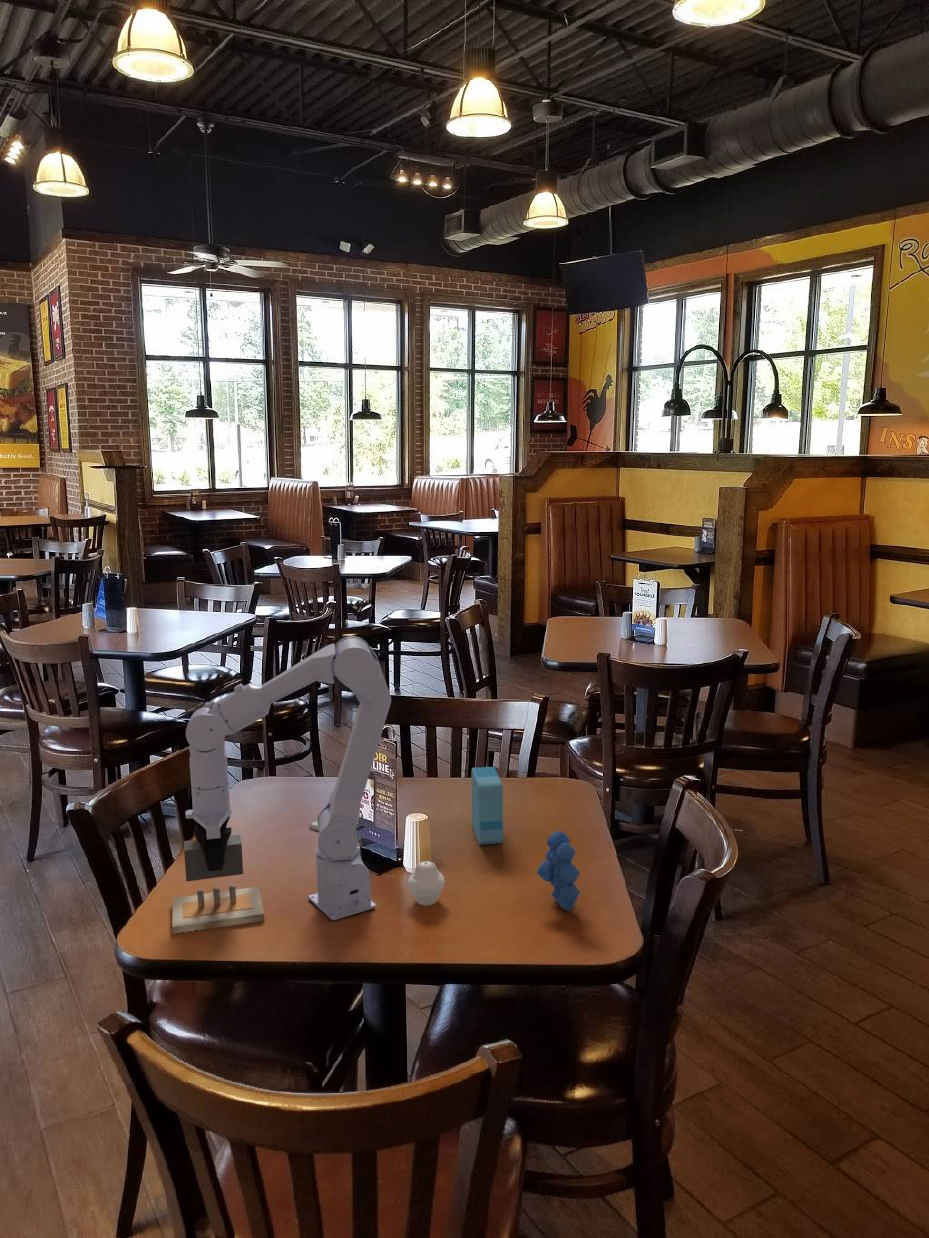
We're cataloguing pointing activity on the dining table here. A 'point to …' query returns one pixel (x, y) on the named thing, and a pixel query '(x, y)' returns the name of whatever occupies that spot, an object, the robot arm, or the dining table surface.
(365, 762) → the robot arm
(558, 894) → the grapes
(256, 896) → the board
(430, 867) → the muffin
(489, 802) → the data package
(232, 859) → the block
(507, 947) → the dining table surface
